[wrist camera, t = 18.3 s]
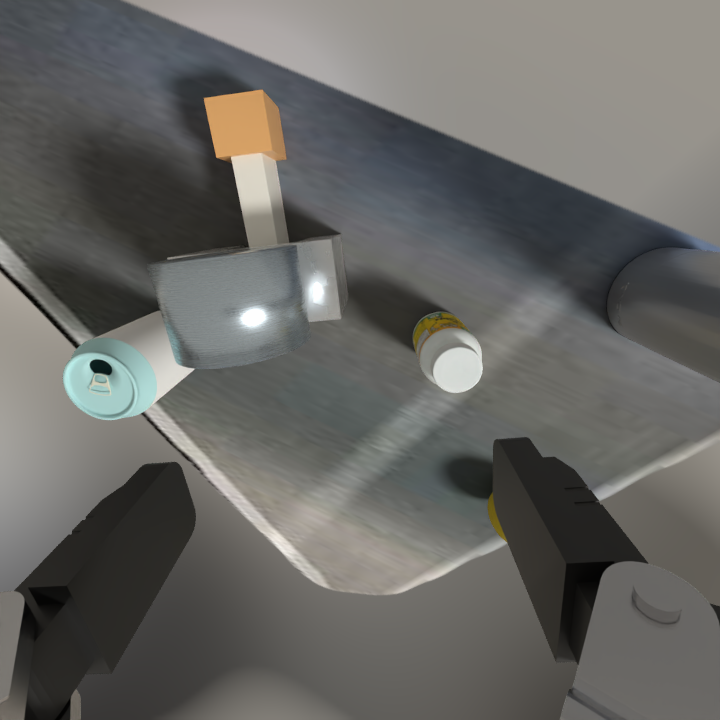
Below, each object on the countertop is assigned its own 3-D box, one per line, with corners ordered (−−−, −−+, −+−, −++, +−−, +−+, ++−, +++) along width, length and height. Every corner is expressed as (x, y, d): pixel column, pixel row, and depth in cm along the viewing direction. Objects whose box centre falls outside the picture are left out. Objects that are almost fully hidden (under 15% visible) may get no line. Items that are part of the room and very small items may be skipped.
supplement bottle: (404, 349, 40) (412, 387, 31) (425, 302, 38) (440, 328, 29) (450, 367, 41) (472, 409, 32) (474, 321, 39) (503, 352, 30)
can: (128, 326, 40) (33, 369, 29) (181, 296, 39) (103, 328, 28) (169, 381, 43) (95, 440, 31) (220, 354, 41) (162, 406, 30)
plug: (278, 107, 33) (262, 89, 28) (312, 325, 40) (304, 340, 35) (228, 114, 33) (203, 97, 29) (270, 329, 40) (256, 344, 35)
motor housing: (341, 234, 36) (311, 248, 19) (348, 296, 38) (327, 358, 22) (214, 248, 37) (81, 274, 20) (228, 308, 39) (117, 377, 22)
